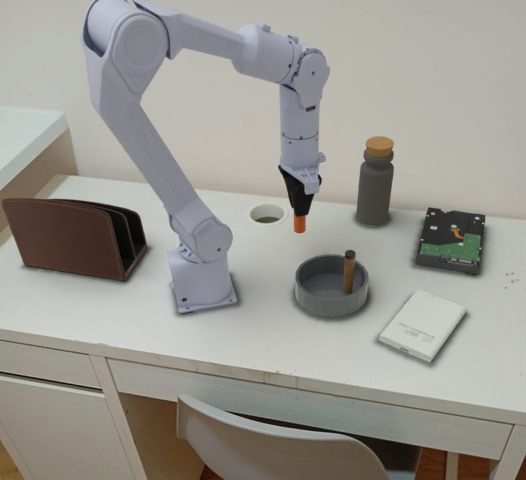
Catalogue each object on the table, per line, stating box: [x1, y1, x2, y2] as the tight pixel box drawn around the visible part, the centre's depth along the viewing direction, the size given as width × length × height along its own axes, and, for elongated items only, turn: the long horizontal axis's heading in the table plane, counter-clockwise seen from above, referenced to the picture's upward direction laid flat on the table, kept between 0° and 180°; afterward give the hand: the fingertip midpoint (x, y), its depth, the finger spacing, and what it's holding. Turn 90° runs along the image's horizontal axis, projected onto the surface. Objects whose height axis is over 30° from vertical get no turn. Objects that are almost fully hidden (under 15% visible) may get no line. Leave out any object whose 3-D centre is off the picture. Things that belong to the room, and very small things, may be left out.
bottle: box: [355, 135, 395, 227], centre depth 103 cm, size 6×6×15 cm
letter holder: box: [1, 197, 148, 282], centre depth 99 cm, size 10×20×14 cm, turn 74°
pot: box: [294, 253, 370, 319], centre depth 92 cm, size 11×11×4 cm
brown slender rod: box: [342, 249, 357, 293], centre depth 91 cm, size 2×2×8 cm
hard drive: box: [378, 289, 467, 363], centre depth 87 cm, size 2×8×12 cm
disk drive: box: [415, 206, 486, 275], centre depth 100 cm, size 10×3×15 cm
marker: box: [293, 212, 307, 234], centre depth 95 cm, size 2×2×8 cm
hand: (299, 210), depth 95 cm, fingers closed on marker, 2 cm apart
